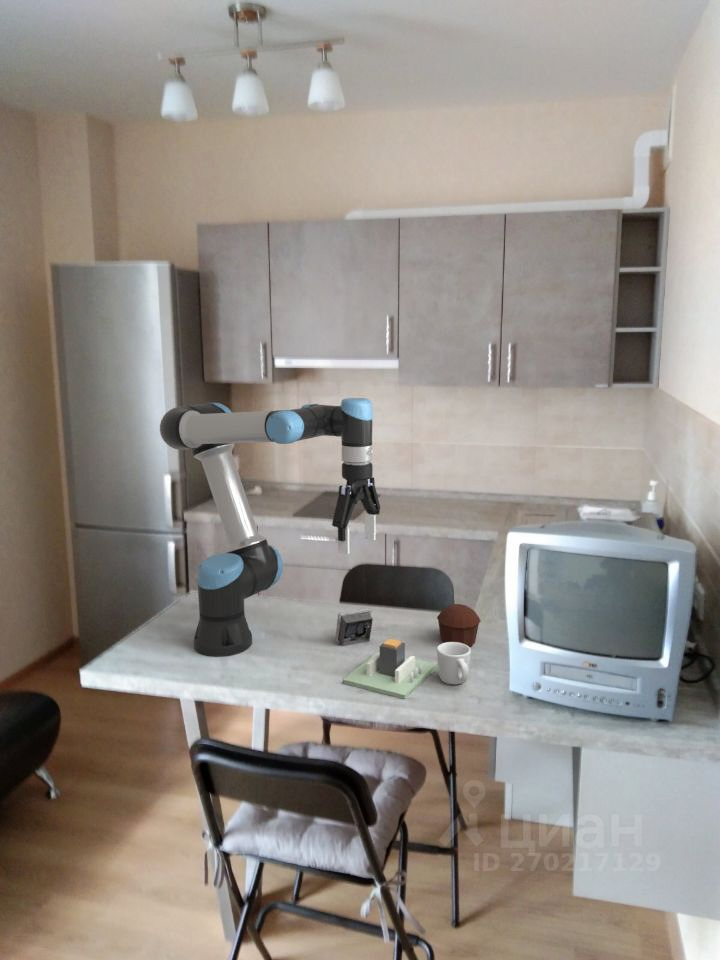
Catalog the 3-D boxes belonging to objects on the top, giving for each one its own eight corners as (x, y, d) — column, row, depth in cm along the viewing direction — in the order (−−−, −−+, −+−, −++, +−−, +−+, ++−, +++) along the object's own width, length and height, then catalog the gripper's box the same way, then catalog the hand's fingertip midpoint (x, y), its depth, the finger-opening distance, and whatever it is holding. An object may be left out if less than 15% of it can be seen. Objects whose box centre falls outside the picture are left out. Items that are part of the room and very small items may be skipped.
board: (343, 683, 177) (343, 667, 176) (378, 654, 192) (378, 640, 191) (404, 699, 169) (405, 682, 168) (436, 667, 185) (436, 652, 184)
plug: (379, 673, 179) (379, 643, 178) (387, 666, 183) (388, 637, 182) (396, 677, 177) (396, 647, 176) (404, 670, 181) (404, 640, 180)
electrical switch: (366, 635, 204) (367, 604, 201) (374, 644, 199) (375, 613, 197) (334, 641, 200) (335, 610, 198) (341, 650, 196) (342, 618, 193)
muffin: (428, 638, 202) (429, 603, 200) (462, 630, 207) (463, 596, 205) (453, 654, 192) (454, 618, 190) (488, 646, 197) (489, 610, 195)
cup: (480, 690, 173) (481, 658, 171) (448, 695, 171) (449, 662, 169) (461, 670, 183) (462, 639, 182) (431, 674, 181) (431, 643, 179)
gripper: (344, 472, 170) (345, 561, 175) (393, 455, 192) (393, 535, 196) (316, 469, 174) (318, 557, 178) (367, 453, 195) (367, 532, 199)
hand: (357, 546), depth 187 cm, fingers open, 13 cm apart
